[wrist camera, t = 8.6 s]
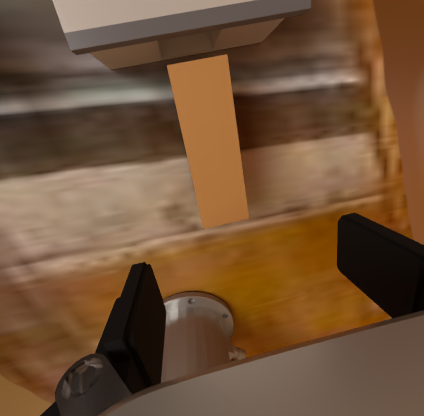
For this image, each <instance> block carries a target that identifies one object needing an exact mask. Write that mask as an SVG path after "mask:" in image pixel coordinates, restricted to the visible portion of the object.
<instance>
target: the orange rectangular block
mask: <svg viewBox="0 0 424 416" xmlns="http://www.w3.org/2000/svg"><path fill="white" fill-rule="evenodd" d="M167 69H168V73H169V78H170V82H171V86H172V91H173V95H174V100H175V104H176V109H177V113H178V118H179V122H180V127H181V131H182V135H183V140H184V144H185V149H186V153H187V158H188V162H189V167H190V171H191V175H192V180H193V184H194V189H195V193H196V198H197V202H198V207H199V211H200V216H201V220H202V224H203V229H205V228H210V227H214V226H218V225H223V224H227V223H232V222H236V221H241V220H245V219H249V214H248V207H247V199H246V192H245V184H244V176H243V169H242V161H241V154H240V146H239V139H238V131H237V124H236V116H235V109H234V101H233V94H232V86H231V78H230V71H229V63H228V56H227V54H226V55H220V56H215V57H209V58H204V59H199V60H193V61H188V62H182V63H177V64H171V65H167Z"/></svg>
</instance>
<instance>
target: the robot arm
mask: <svg viewBox="0 0 424 416" xmlns="http://www.w3.org/2000/svg"><path fill="white" fill-rule="evenodd" d="M337 267H338V269H339V271H340V272H341V273H342V274H343V275H345V276H346V277H347V278H348V279H349V280H350V281H351V282H352V283H354V284H355V285H356V286H357V287H358V288H359V289H360V290H361V291H363V292H364V293H365V294H366V295H367V296H368V297H369V298H370V299H372V300H373V301H374V302H375V303H376V304H377V305H378V306H379V307H381V308H382V309H383V310H384V311H385V312H386V313H387V314H388V315H390V316H391V317H392V319H389V320H385V321H381V322H377V323H373V324H370V325H366V326H362V327H358V328H354V329H351V330H347V331H343V332H340V333H336V334H332V335H328V336H325V337H321V338H317V339H313V340H310V341H306V342H302V343H299V344H295V345H291V346H288V347H284V348H280V349H277V350H273V351H269V352H266V353H262V354H258V355H255V356H251V357H248V358H246V352H245V350H243V349H240V348H237V347H234V346H233V344H232V340H231V336H232V334H233V329H234V323H233V318H232V314H231V311H230V310H229V308H228V306H227V305H226V304H225V303H224V302H223V301H222V300H220V299H219V298H217V297H215V296H213V295H210V294H207V293H203V292H184V293H179V294H175V295H173V296H170V297H168V298H166V299H164V300H163V299H162V296H161V293H160V290H159V287H158V284H157V281H156V279H155V276H154V273H153V270H152V267H151V265H150V264H148V265H147V264H146V263H145V262H143V263H139V264H134V265H132V267H131V270H130V272H129V275H128V278H127V280H126V283H125V286H124V289H123V291H122V294H121V297H120V298H117V299H116V301H115V303H114V306H113V308H112V311H111V313H110V316H109V319H108V321H107V324H106V326H105V329H104V331H103V334H102V337H101V339H100V342H99V344H98V347H97V350H96V352H95V354H90V355H88V356H85V357H83V358H81V359H80V360H79V361H77V362H76V363H74V364H73V365H72V366H71V367H70V368H69V369H68V370H67V371H66V373H65V374H64V375H63V376H62V378H61V380H60V381H59V383H58V385H57V388H56V392H55V400H56V402H54V403H53V404H52V405H51V406H50V407H49V408H48V409H47V410H46V411H45V412H44V413H43V414H41V415H40V416H424V245H422V244H420V243H418V242H416V241H414V240H412V239H410V238H408V237H405V236H403V235H401V234H399V233H397V232H395V231H393V230H391V229H388V228H386V227H384V226H382V225H380V224H378V223H376V222H374V221H372V220H369V219H367V218H365V217H363V216H361V215H359V214H357V213H351V214H347V215H343V216H341V218H340V219H339V221H338V241H337ZM232 357H234V358H236V359H238V360H236V359H233V358H232Z"/></svg>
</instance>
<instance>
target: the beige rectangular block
mask: <svg viewBox="0 0 424 416" xmlns="http://www.w3.org/2000/svg"><path fill="white" fill-rule="evenodd" d="M52 1H53V3H54V6H55V9H56V12H57V14H58V17H59V20H60V23H61V26H62V28H63V31H64V34H65V37H66V39H67V42H68V45H69V48H70V51H72V52H73V53H75V54H76V55H79V54H85V53H90V54H91V55H93V56H94V57H95V58H97V59H98V60H99V61H100V62H102V63H103V64H104V65H105V66H107V67H108V68H109V69H111V70H113V69H118V68H124V67H129V66H135V65H140V64H146V63H151V62H157V61H162V60H167V59H173V58H178V57H184V56H189V55H195V54H200V53H206V52H211V51H217V50H222V49H228V48H233V47H239V46H244V45H250V44H255V43H261V42H262V41H263V40H264V39H265V38H266V37H267V36H268V35H269V34H270V33H271V32H272V31H273V30H274V29H275V28H276V27H277V26H278V25H279V24H280V22H281V21H282V20H283V19H284V18H288V17H293V16H299V15H304V14H305V13H306V12H307V11H308V10H310V9H311V0H52Z"/></svg>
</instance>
